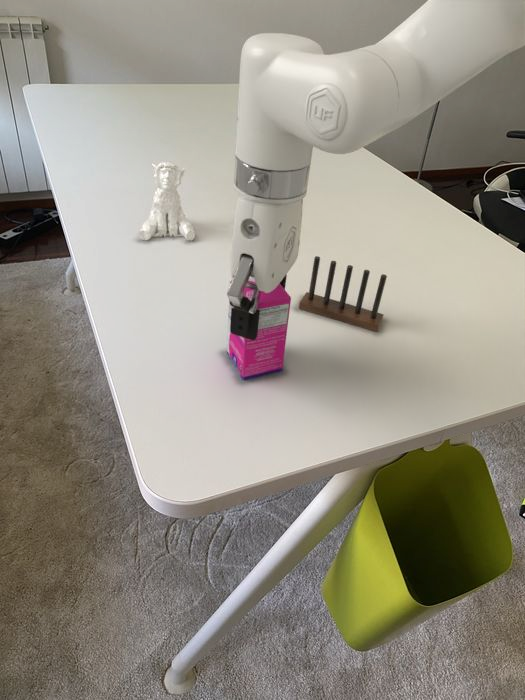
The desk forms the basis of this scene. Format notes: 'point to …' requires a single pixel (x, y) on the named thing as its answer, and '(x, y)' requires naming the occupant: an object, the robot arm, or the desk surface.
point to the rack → (343, 300)
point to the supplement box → (262, 335)
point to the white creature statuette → (167, 206)
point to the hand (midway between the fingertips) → (257, 315)
